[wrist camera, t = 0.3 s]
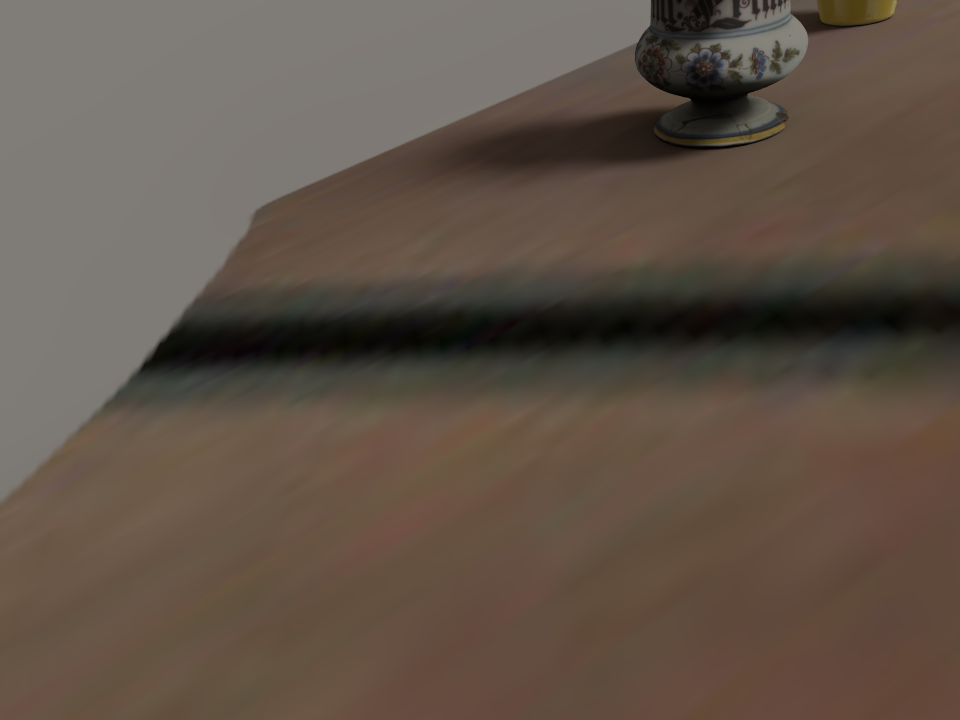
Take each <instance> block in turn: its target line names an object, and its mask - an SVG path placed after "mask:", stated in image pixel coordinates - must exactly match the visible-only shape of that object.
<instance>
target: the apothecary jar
mask: <svg viewBox="0 0 960 720" xmlns="http://www.w3.org/2000/svg"><path fill="white" fill-rule="evenodd" d="M807 46H808V36H807V32H806V30H805V28H804V27H803V25H802V24H801V23H800V22H799V20H797V19H796V18H795V17H794V16H793V15H792V14H791V13H790V0H651V25H650V27H649V28H648V29H647V30H646V31H645V32H644V33H643V35H642V36H641V38H640V40H639V42H638V44H637V47H636V51H635V62H636V66H637V69H638V71H639V72H640V74H641V75H642V76H643V77H644V78H645V79H646V80H647V81H648V82H649V83H651V84H652V85H653V86H655V87H657V88H659V89H661V90H663V91H665V92H668V93H671V94H674V95H678V96H682V97H687V98H690V99H691V101H689V102H686V103H684V104H682V105H680V106H678V107H676V108H675V109H674V110H671V111H669V112H667V113H665V114H664V115H662V116H661V117H660V118H659V119H658V120H657V121H656V123H655V126H654V132H655V134H656V136H657V137H658V138H660V139H661V140H663V141H665V142H668V143H670V144H674V145H680V146H688V147H724V146H734V145H741V144H747V143H751V142H755V141H759V140H763V139H765V138H768V137H770V136H773V135H775V134H777V133H778V132H780V131H782V130H783V129H784V128H785V124H784V123H783V121H784V120H787V119H788V118H789V115H788V113H787V111H786V110H785V109H784V108H782V107H781V106H779V105H777V104H774V103H771V102H767V101H766V100H764V99H762V98H759V97H755V96H748V95H747V94H748V93H750V92H754V91H757V90H760V89H762V88H765V87H767V86H770V85H772V84H774V83H776V82H778V81H780V80H781V79H783V78H784V77H786V76H787V75H788V74H790V73H791V72H792V71H793V70H794V69H795V68H796V67H797V66H798V64H799V63H800V62H801V61H802V59H803V57H804V55H805V53H806V50H807Z"/></svg>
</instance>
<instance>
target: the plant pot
mask: <svg viewBox="0 0 960 720" xmlns="http://www.w3.org/2000/svg"><path fill="white" fill-rule="evenodd" d="M896 3H897V0H817V4H818V10H819V15H820V20H821V21H822V22H823V23H825V24H828V25H835V26H853V25H863V24H870V23H875V22H879V21H882V20H885V19H888V18H890V17H891V16H892V15H893V14H894V11H895V7H896Z"/></svg>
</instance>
